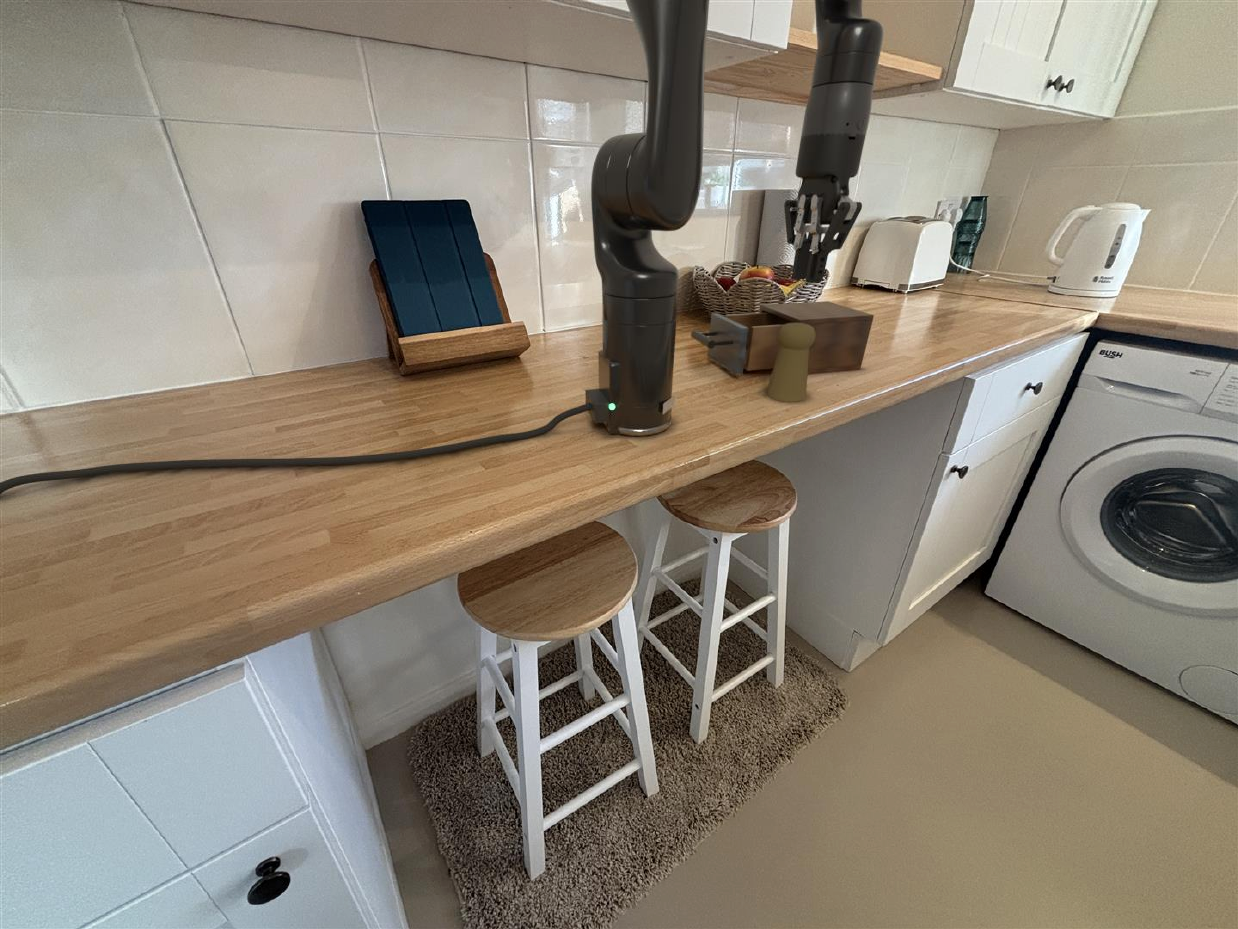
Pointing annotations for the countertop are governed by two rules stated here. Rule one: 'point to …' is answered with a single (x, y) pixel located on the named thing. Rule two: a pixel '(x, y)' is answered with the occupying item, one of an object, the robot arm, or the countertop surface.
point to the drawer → (743, 340)
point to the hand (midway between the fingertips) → (806, 280)
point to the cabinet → (829, 333)
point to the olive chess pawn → (791, 363)
